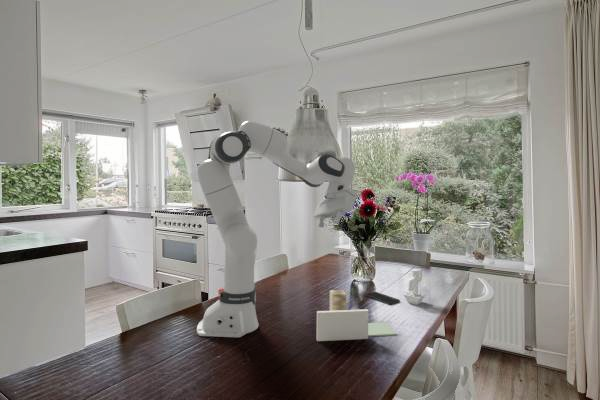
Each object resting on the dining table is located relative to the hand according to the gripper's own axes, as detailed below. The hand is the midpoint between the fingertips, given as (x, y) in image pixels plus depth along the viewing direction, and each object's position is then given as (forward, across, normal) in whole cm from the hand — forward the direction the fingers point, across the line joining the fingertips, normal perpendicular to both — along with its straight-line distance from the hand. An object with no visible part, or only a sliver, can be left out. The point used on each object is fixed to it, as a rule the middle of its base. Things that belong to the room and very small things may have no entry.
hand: (327, 224), depth 137 cm
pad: (+29, +5, +31) cm, 43 cm away
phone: (+10, -17, +51) cm, 54 cm away
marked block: (+33, -4, +20) cm, 39 cm away
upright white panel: (+37, +3, +18) cm, 41 cm away
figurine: (+8, -6, +60) cm, 60 cm away
